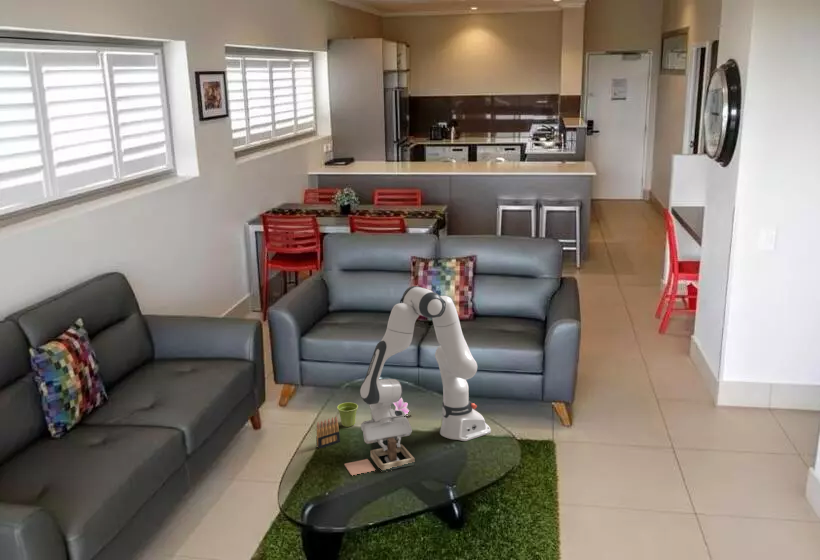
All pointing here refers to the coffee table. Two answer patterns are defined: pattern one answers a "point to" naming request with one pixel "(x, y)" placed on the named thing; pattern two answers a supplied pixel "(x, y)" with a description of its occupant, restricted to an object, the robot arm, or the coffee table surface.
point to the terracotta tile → (359, 467)
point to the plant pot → (347, 413)
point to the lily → (401, 406)
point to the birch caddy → (380, 452)
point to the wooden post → (392, 451)
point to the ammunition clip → (327, 433)
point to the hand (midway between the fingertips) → (392, 449)
